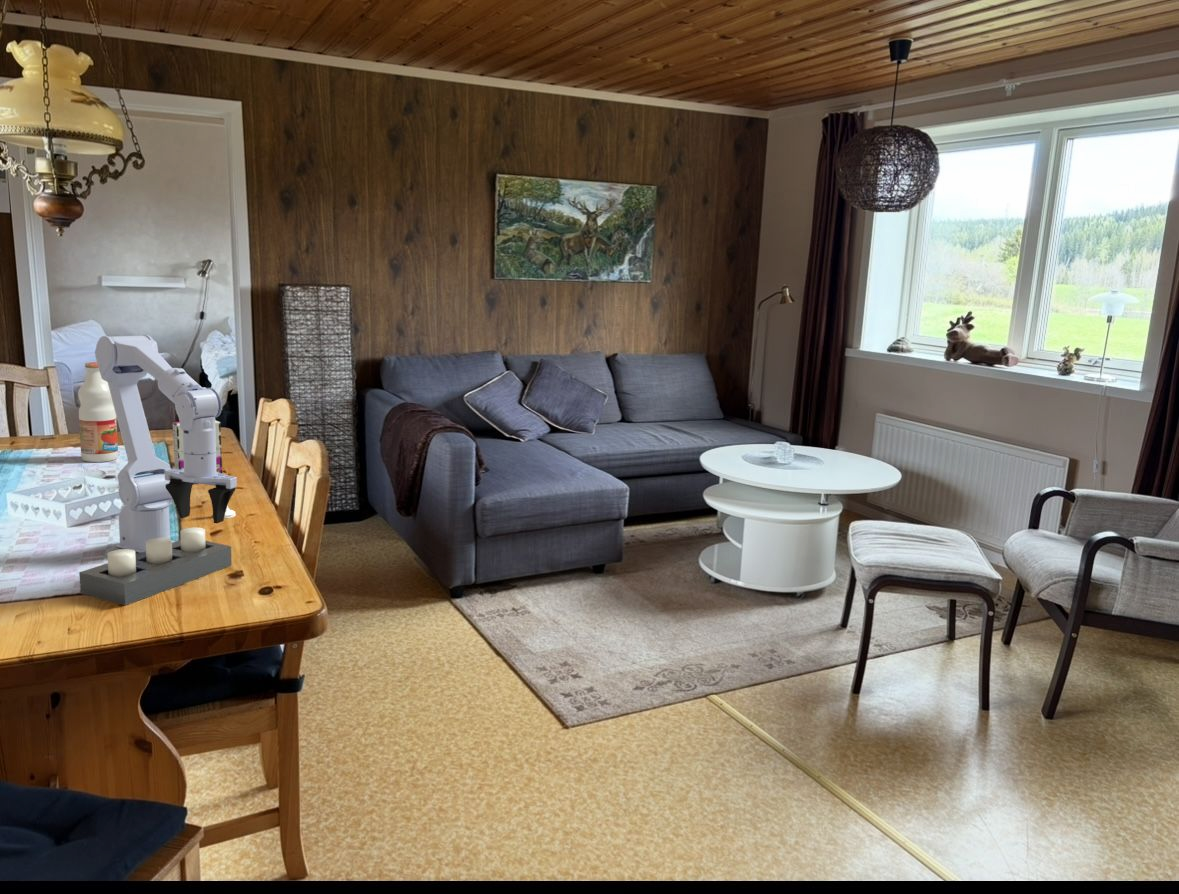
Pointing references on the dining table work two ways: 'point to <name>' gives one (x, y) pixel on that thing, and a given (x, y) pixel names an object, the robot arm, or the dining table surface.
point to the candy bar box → (179, 451)
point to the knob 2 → (192, 539)
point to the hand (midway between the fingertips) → (201, 519)
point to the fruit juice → (97, 418)
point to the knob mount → (154, 574)
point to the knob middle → (158, 550)
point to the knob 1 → (121, 563)
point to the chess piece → (229, 513)
